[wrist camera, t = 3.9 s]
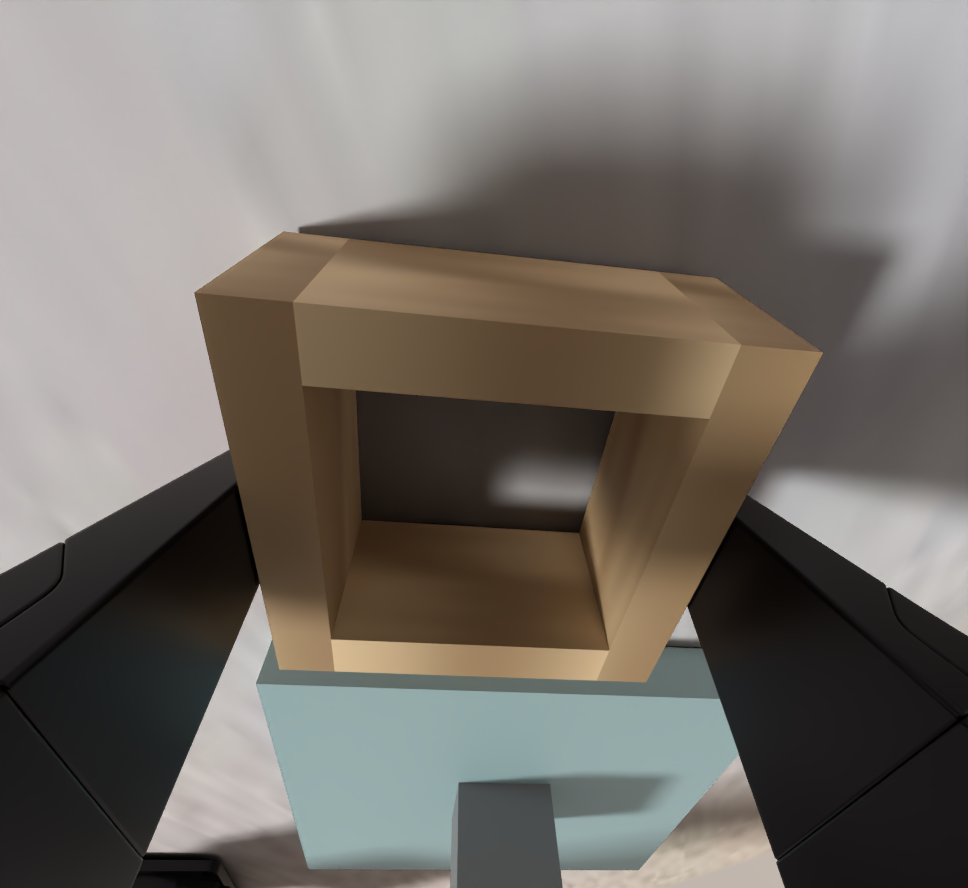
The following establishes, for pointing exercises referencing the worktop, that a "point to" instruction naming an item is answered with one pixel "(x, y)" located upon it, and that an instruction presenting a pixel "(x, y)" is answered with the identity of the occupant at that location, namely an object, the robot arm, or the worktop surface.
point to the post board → (493, 768)
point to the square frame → (501, 378)
